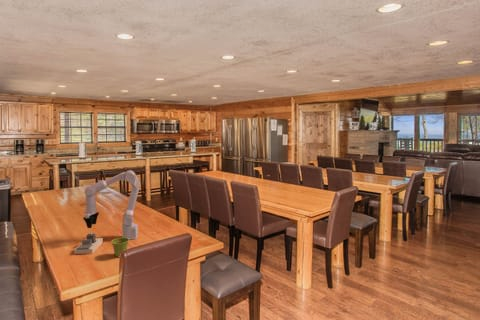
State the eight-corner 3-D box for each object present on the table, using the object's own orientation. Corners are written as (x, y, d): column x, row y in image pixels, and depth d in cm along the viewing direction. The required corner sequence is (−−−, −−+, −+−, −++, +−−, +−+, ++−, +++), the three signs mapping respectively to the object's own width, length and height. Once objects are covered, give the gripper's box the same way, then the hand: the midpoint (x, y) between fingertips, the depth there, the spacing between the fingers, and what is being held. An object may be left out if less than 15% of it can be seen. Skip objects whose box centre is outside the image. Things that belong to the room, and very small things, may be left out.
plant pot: (129, 257, 174) (128, 242, 173) (111, 259, 171) (110, 244, 170) (130, 251, 183) (129, 236, 182) (112, 252, 180) (112, 238, 179)
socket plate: (102, 241, 197) (102, 238, 197) (92, 253, 179) (92, 249, 179) (86, 242, 196) (86, 238, 196) (74, 253, 178) (73, 249, 178)
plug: (95, 244, 193) (95, 231, 192) (93, 246, 189) (93, 233, 188) (89, 244, 192) (88, 231, 191) (86, 247, 189) (86, 233, 188)
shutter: (92, 244, 185) (92, 239, 185) (88, 249, 178) (88, 243, 178) (81, 245, 184) (81, 239, 184) (76, 249, 178) (76, 244, 177)
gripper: (88, 202, 203) (89, 222, 204) (79, 208, 188) (80, 229, 190) (99, 202, 203) (100, 222, 205) (91, 207, 189) (92, 229, 191)
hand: (91, 226), depth 197 cm, fingers open, 7 cm apart
